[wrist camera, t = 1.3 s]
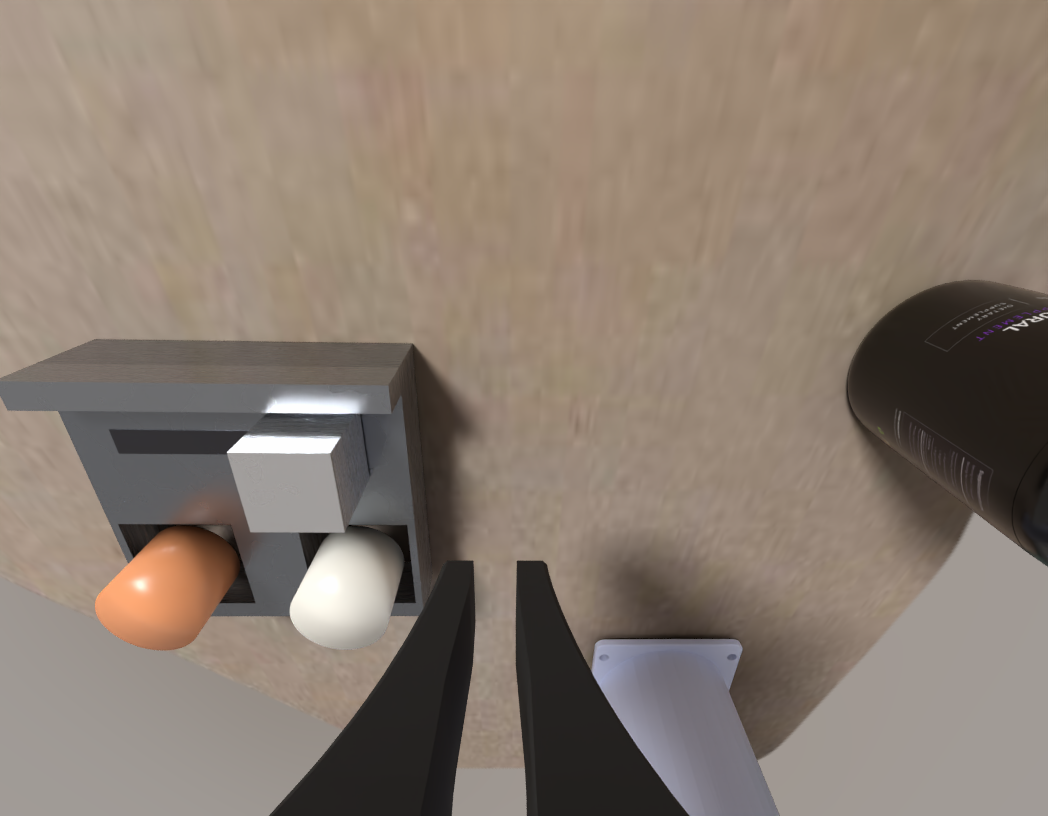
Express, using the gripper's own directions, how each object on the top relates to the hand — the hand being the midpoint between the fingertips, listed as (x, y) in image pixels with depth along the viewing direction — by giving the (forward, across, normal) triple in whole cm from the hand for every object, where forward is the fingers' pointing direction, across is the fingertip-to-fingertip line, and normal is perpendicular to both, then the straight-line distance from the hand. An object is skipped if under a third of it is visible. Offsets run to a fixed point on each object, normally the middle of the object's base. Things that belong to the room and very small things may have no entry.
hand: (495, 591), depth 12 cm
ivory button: (+7, +6, +6) cm, 11 cm away
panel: (+9, +10, +3) cm, 14 cm away
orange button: (+7, +13, +6) cm, 16 cm away
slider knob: (+7, +6, 0) cm, 9 cm away
